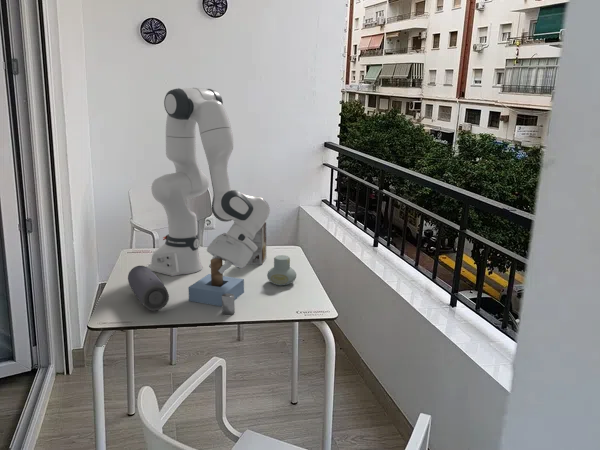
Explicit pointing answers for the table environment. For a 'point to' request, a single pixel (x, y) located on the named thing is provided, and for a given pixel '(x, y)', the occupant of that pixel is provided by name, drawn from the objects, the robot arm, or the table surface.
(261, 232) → the coffee box
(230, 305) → the short pin
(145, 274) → the bluetooth speaker
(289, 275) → the air freshener
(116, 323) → the table surface
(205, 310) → the table surface
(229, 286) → the collar block
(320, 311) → the table surface
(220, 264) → the long pin
